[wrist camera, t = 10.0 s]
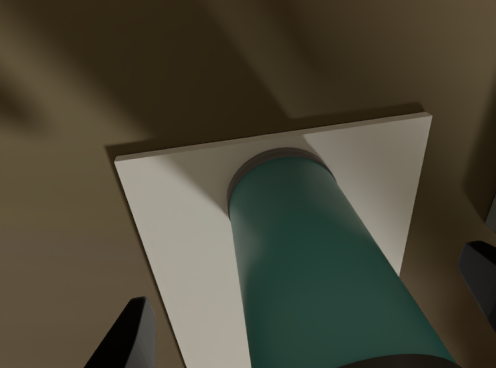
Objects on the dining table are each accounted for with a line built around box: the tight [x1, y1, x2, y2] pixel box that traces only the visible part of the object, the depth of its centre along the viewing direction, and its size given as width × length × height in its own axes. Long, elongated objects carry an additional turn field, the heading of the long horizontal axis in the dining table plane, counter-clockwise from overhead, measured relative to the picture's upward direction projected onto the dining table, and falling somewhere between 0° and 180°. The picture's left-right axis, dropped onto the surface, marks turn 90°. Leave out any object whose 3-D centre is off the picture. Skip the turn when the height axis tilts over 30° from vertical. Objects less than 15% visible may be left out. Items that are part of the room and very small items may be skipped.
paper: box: [114, 112, 432, 368], centre depth 16 cm, size 15×11×1 cm
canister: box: [227, 147, 461, 368], centre depth 9 cm, size 4×4×9 cm
